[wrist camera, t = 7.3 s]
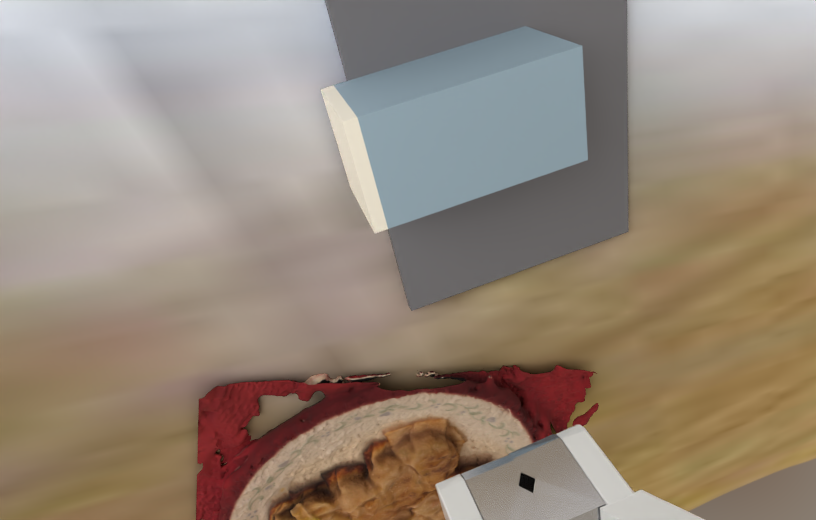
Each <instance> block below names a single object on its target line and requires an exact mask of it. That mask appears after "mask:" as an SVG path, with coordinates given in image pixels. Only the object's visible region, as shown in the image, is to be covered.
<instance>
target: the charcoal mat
mask: <svg viewBox="0 0 816 520" xmlns="http://www.w3.org/2000/svg"><path fill="white" fill-rule="evenodd" d="M325 3H326V6H327V10H328V14H329V17H330V21H331V25H332V28H333V32H334V35H335V39H336V43H337V46H338V50H339V54H340V57H341V61H342V65H343V68H344V72H345V76H346V79H347V81H349V80H352V79H355V78H359V77H362V76H365V75H368V74H372V73H375V72H378V71H381V70H385V69H388V68H391V67H394V66H398V65H401V64H404V63H407V62H411V61H414V60H417V59H420V58H423V57H427V56H430V55H433V54H436V53H440V52H443V51H446V50H449V49H453V48H456V47H459V46H462V45H466V44H469V43H472V42H475V41H479V40H482V39H485V38H488V37H491V36H495V35H498V34H501V33H504V32H508V31H511V30H514V29H517V28H521V27H524V26H527V27H530V28H533V29H535V30H538V31H541V32H544V33H547V34H550V35H553V36H556V37H559V38H561V39H564V40H567V41H570V42H573V43H576V44H579V45H582V50H583V70H584V90H585V110H586V131H587V151H588V160H586V161H583V162H580V163H578V164H575V165H572V166H569V167H566V168H563V169H560V170H557V171H554V172H552V173H549V174H546V175H543V176H540V177H537V178H534V179H531V180H528V181H525V182H523V183H520V184H517V185H514V186H511V187H508V188H505V189H502V190H499V191H497V192H494V193H491V194H488V195H485V196H482V197H479V198H476V199H473V200H471V201H468V202H465V203H462V204H459V205H456V206H453V207H450V208H447V209H445V210H442V211H439V212H436V213H433V214H430V215H427V216H424V217H421V218H418V219H416V220H413V221H410V222H407V223H404V224H401V225H398V226H395V227H392V228H390V229H388V232H389V236H390V240H391V243H392V247H393V251H394V254H395V258H396V261H397V265H398V269H399V272H400V276H401V280H402V283H403V287H404V291H405V294H406V298H407V302H408V305H409V307H410V309H411V311H413V310H415V309H418V308H421V307H424V306H426V305H429V304H432V303H434V302H437V301H440V300H443V299H445V298H448V297H451V296H454V295H456V294H459V293H462V292H465V291H467V290H470V289H473V288H476V287H478V286H481V285H484V284H486V283H489V282H492V281H495V280H497V279H500V278H503V277H506V276H508V275H511V274H514V273H517V272H519V271H522V270H525V269H528V268H530V267H533V266H536V265H539V264H541V263H544V262H547V261H549V260H552V259H555V258H558V257H560V256H563V255H566V254H569V253H571V252H574V251H577V250H580V249H582V248H585V247H588V246H591V245H593V244H596V243H599V242H601V241H604V240H607V239H610V238H612V237H615V236H618V235H621V234H623V233H626V232H628V100H627V0H325Z"/></svg>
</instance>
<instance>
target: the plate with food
mask: <svg viewBox="0 0 816 520" xmlns="http://www.w3.org/2000/svg"><path fill="white" fill-rule="evenodd" d="M483 369H484V368H483ZM417 371H418V370H417ZM593 373H595V372H590V371H585V370H569V369H565V368H563V367H561V366H559V365H556V366H555V368H554V370H553V371H551V372H547V373H541V374H529V373H526V372H523V371H521V370H520V368H519V367H517V366H516V365H514V366H513V368H512V367H507V366H503V368H501V370H499V371H490V372H489V373H487V372H485V371H480V372H471V371H468V372H462V373H452V374H450V375H449V374H444V375H438V374H435V372H433V371H430V372H428V373H426V374H425V377H428V376H431V377H434V378H435V379H445V378H451V379H457V380H460V381H465V382H463V383H461V384H457V385H451V386H447V387H442V388H434V389H415V390H412V391H404V390H396V391H390V390H384V389H380V388H378V386H380V383H377V382H369V383H365V382H364V383H362V382H363V381H368V380H371V379H374V378H377V377H386V376H390V375H391V374H390V373H386V374H384V375H383V374H378V375H376V374H372V375H361V376H356V375H354V376H349V377H346V378H345V379H346V380H347V381H349V382H351V383H344V382H343V380H344V379H343V378H342V376H338V378H336V379H331V378H329V377H328V375H327V374H318V375H313V376H311V377H310V378H309V379H308V380H307V381H305V382H301V383H299V382H295V381H290V380H277V381H269V382H267V381H264V382H242V383H234V384H228V385H227V386H225V387H223V386H217V387H215V388H214V389H212V390H211V391H210V392H208V394H207V395H206V396H205V397H204V398H202V399H199V418H198V463H199V464H201V463H203V469H202V470H201V471H200V472H199V473H198V475H197V505H196V520H201V519H204V520H446V519H445V516H444V513H443V510H442V507H441V503H440V500H439V497H438V493H437V490H436V487H435V485H436V484H437V483H439V482H442V481H444V480H446V479H449V478H451V477H454V476H456V475H458V474H460V475H461V474H462V473H464V472H467V471H469V470H471V469H474V468H476V467H479V466H481V465H484V464H486V463H489V462H491V461H494V460H496V459H499V458H501V457H504V456H506V455H508V454H509V453H511V452H514V451H516V450H518V449H520V448H523V447H525V446H527V445H529V444H532V443H534V442H536V441H539V440H541V439H543V438H545V437H548V436H550V435H552V432H551V428H550V421H551V423H552V425H553V427H554V429H555V431H556V434H557V433H559V432H561V431H564V430H566V429H567V423H568V422H569V421H570V415H571V414H572V412H573V411H574V410H575V404H576V403H578V402H583V401H585V395H586V392H585V391H586V390H585V388H591V384H590V379H589V377H591V376H592V375H593ZM419 374H420V375H418V374H417V375H416V376H417V377H421V376H423V372H419ZM596 374H597V373H596ZM436 375H438V376H436ZM316 391H322V392H323V393H324V394H325V398H324V399H323V400H322V401H320V402H318V403H317V404H315V405H313V406H311V407H309V408H305V409H304V410H302V411H301V412H300V413H298V414H297V415H295V416H293V417H292V418H290V419H289V420H287V421H285V422H284V423H282V424H280V425H279V426H277V427H276V428H275V429H272V430H270V431H268V432H267V433H266V434H265V435H263V436H262V437H261V438H260V439H255V440H252V441H250V440H251V436H249V434H248V431H247V429H243V428H244V427H246V426H247V424H248V423H249V421H250V419H251V418H252V417H253V416H259V415H260V412H259V403H258V398H259V397H260V396H262V395H275V396H287V395H288V394H290V393H292V394H293V393H296V394H298V397H299V399H300V400H302V401H309V400H310V399H311V397H312V395H313V393H314V392H316ZM598 406H599V405H598V403H596V404H595V405H593V406H592V407H591V409H590V410H588V411H587V412H586V413H585V414H583V415H581V416H579V417H577V418H576V419H575V420H574V421H573V426H575V425H579V424H580V425H581V426H584V425H586V424H587V422H588V421H589V419H590V417H591V416H592V415H593V413H594V412H596V411H597V409H598ZM242 427H243V428H242ZM218 449H219V450H220V455H219V454H216V453H215V452H216V451H217V450H218ZM221 455H223V456H224V459H223V461H222V462H221V458H222V456H221ZM226 462H227V464H225V463H226ZM221 464H225V465H221Z"/></svg>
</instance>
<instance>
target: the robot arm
mask: <svg viewBox="0 0 816 520" xmlns="http://www.w3.org/2000/svg"><path fill="white" fill-rule="evenodd" d="M435 487H436V490H437V493H438V497H439V500H440V503H441V507H442V510H443V513H444V516H445V519H446V520H705V519H703V518H701V517H698V516H696V515H694V514H692V513H690V512H688V511H686V510H684V509H682V508H679V507H677V506H675V505H673V504H671V503H669V502H667V501H665V500H662V499H660V498H658V497H656V496H654V495H652V494H650V493H648V492H646V491H643V490H639V491H636V492H634V491H633V490H632V489H631V487H630V486H629V485H628V484H627V482H626V481H625V480H624V478H623V477H622V476H621V474H620V473H619V472H618V470H617V469H616V468H615V467H614V465H613V464H612V463H611V461H610V460H609V459H608V457H607V456H606V455H605V453H604V452H603V451H602V450H601V448H600V447H599V446H598V444H597V443H596V442H595V440H594V439H593V438H592V436H591V435H590V434H589V433H588V431H587V430H586V429H585V428H584V427H583V426H581V425H580V424H579V425H575V426H573V427H570V428H568V429H566V430H564V431H561V432H559V433H557V434H555V435H554V434H552V435H550V436H548V437H545V438H543V439H541V440H539V441H536V442H534V443H532V444H529V445H527V446H525V447H523V448H520V449H518V450H516V451H514V452H511V453H509V454H508V455H506V456H504V457H501V458H499V459H496V460H494V461H491V462H489V463H486V464H484V465H481V466H479V467H476V468H474V469H471V470H469V471H467V472H464V473H462V474H461V475H460V474H458V475H456V476H454V477H451V478H449V479H446V480H444V481H442V482H439V483H437V484H436V485H435Z"/></svg>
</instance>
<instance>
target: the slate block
mask: <svg viewBox="0 0 816 520" xmlns="http://www.w3.org/2000/svg"><path fill="white" fill-rule="evenodd" d="M321 92H322V96H323V99H324V102H325V106H326V109H327V112H328V115H329V119H330V122H331V125H332V129H333V132H334V135H335V139H336V142H337V145H338V148H339V152H340V155H341V158H342V162H343V165H344V168H345V171H346V175H347V178H348V181H349V185H350V188H351V190H352V192H353V194H354V196H355V197H356V199H357V201H358V203H359V205H360V207H361V209H362V211H363V212H364V214H365V216H366V218H367V220H368V222H369V224H370V226H371V228H372V229H373V231H374V233H378V232H381V231H384V230H387V229H390V228H392V227H395V226H398V225H401V224H404V223H407V222H410V221H413V220H416V219H418V218H421V217H424V216H427V215H430V214H433V213H436V212H439V211H442V210H445V209H447V208H450V207H453V206H456V205H459V204H462V203H465V202H468V201H471V200H473V199H476V198H479V197H482V196H485V195H488V194H491V193H494V192H497V191H499V190H502V189H505V188H508V187H511V186H514V185H517V184H520V183H523V182H525V181H528V180H531V179H534V178H537V177H540V176H543V175H546V174H549V173H552V172H554V171H557V170H560V169H563V168H566V167H569V166H572V165H575V164H578V163H580V162H583V161H586V160H588V151H587V131H586V110H585V90H584V70H583V50H582V45H579V44H576V43H573V42H570V41H567V40H564V39H561V38H559V37H556V36H553V35H550V34H547V33H544V32H541V31H538V30H535V29H533V28H530V27H527V26H524V27H521V28H517V29H514V30H511V31H508V32H504V33H501V34H498V35H495V36H491V37H488V38H485V39H482V40H479V41H475V42H472V43H469V44H466V45H462V46H459V47H456V48H453V49H449V50H446V51H443V52H440V53H436V54H433V55H430V56H427V57H423V58H420V59H417V60H414V61H411V62H407V63H404V64H401V65H398V66H394V67H391V68H388V69H385V70H381V71H378V72H375V73H372V74H368V75H365V76H362V77H359V78H355V79H352V80H349V81H346V82H342V83H339V84H336V85H333V86H330V87H326V88H323V89H321Z"/></svg>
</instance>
